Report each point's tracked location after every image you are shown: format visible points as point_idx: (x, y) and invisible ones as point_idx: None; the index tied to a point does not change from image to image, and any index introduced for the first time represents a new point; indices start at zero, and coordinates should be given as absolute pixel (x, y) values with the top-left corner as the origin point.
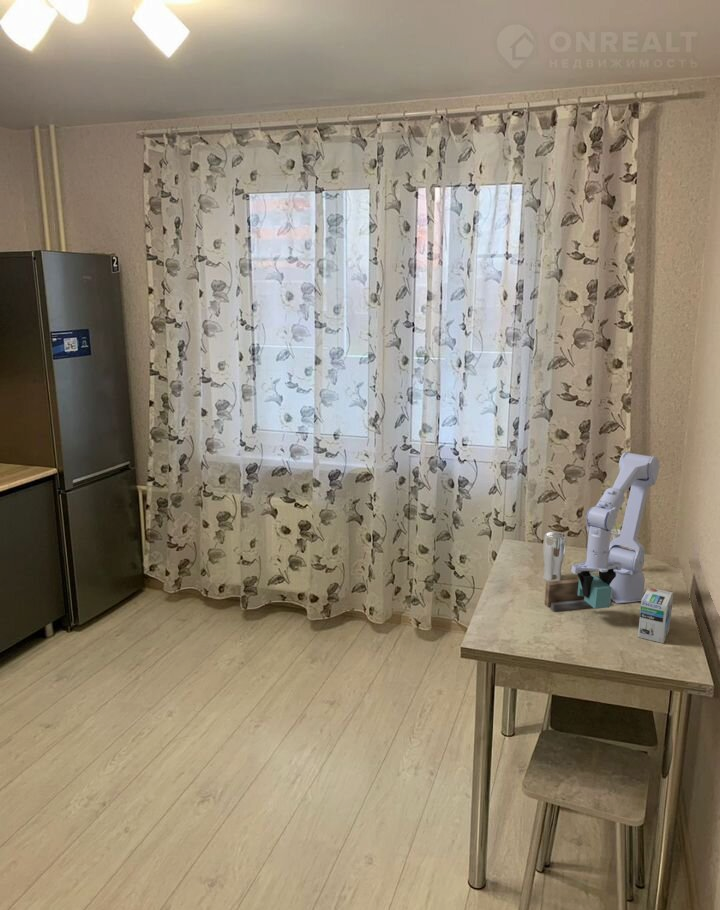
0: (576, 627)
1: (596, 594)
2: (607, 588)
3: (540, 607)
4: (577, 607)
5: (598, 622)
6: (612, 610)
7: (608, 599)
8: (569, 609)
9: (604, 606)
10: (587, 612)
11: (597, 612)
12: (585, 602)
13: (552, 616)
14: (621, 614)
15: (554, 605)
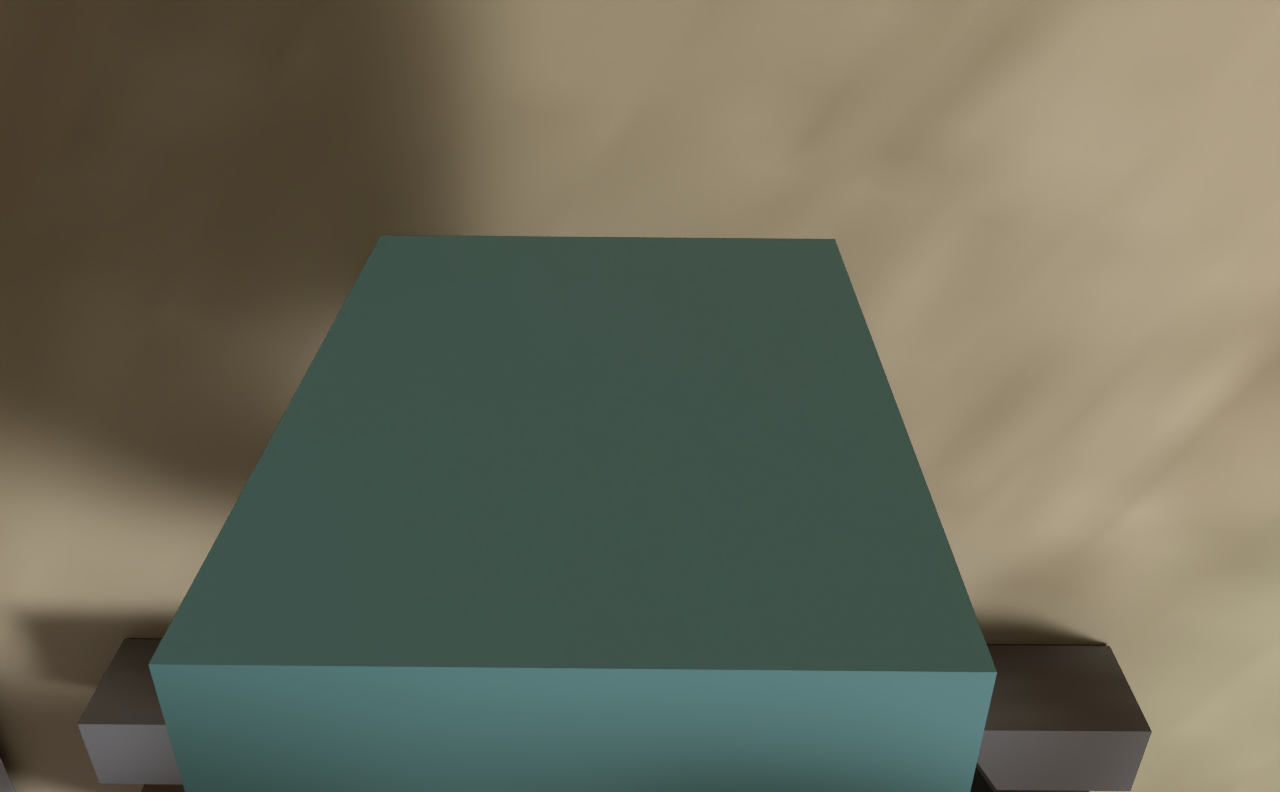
0: (1189, 82)
1: (926, 500)
2: (405, 643)
3: (1178, 772)
4: None
5: (621, 168)
6: (123, 497)
7: (394, 352)
8: None
9: (543, 251)
10: None
11: None
12: None
13: (1246, 530)
14: (16, 345)
15: (1134, 726)
